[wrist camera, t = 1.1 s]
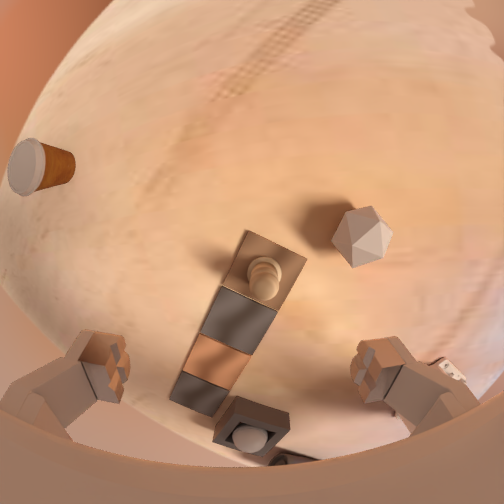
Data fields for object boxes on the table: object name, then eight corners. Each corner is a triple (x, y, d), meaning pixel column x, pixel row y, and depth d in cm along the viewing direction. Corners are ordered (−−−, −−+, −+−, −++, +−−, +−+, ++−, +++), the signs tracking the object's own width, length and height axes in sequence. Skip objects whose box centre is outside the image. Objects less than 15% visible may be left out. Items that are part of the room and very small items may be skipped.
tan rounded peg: (287, 265, 42) (291, 282, 34) (271, 293, 43) (272, 315, 36) (256, 250, 42) (254, 265, 34) (242, 279, 43) (237, 299, 35)
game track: (306, 258, 42) (307, 259, 42) (212, 415, 51) (211, 417, 51) (248, 230, 42) (248, 230, 41) (169, 397, 51) (169, 399, 50)
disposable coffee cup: (77, 134, 39) (34, 126, 27) (86, 181, 41) (41, 182, 29) (45, 155, 40) (4, 154, 28) (53, 199, 42) (10, 205, 30)
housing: (289, 413, 50) (290, 429, 45) (263, 441, 53) (262, 456, 48) (237, 395, 49) (234, 412, 45) (215, 426, 52) (212, 441, 47)
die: (318, 245, 42) (353, 288, 36) (326, 198, 37) (370, 240, 30) (357, 233, 45) (392, 271, 38) (368, 190, 39) (411, 226, 32)
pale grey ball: (273, 422, 49) (273, 446, 42) (258, 439, 50) (257, 461, 44) (242, 412, 48) (239, 436, 42) (228, 430, 50) (224, 453, 43)
